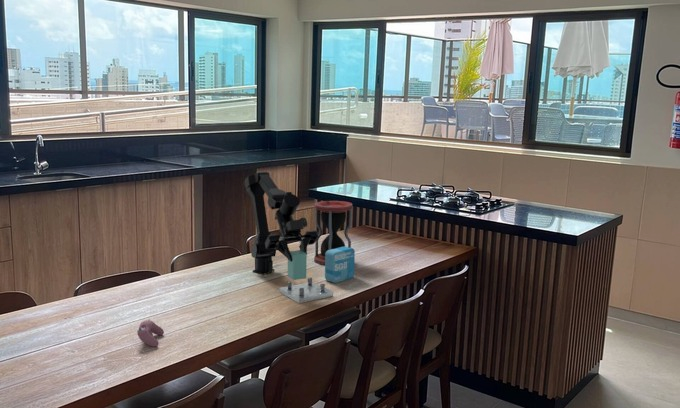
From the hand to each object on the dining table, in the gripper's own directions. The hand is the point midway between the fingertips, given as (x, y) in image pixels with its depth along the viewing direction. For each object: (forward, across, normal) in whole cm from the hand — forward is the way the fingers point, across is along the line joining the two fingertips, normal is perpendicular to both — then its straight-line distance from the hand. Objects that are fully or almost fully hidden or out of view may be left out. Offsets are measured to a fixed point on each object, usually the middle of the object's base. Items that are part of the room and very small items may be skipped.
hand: (298, 260), depth 212 cm
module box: (+4, 0, +6) cm, 7 cm away
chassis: (+8, +4, +11) cm, 14 cm away
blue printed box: (+1, +23, +18) cm, 29 cm away
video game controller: (+22, -54, -2) cm, 58 cm away
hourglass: (-16, +32, +36) cm, 51 cm away
